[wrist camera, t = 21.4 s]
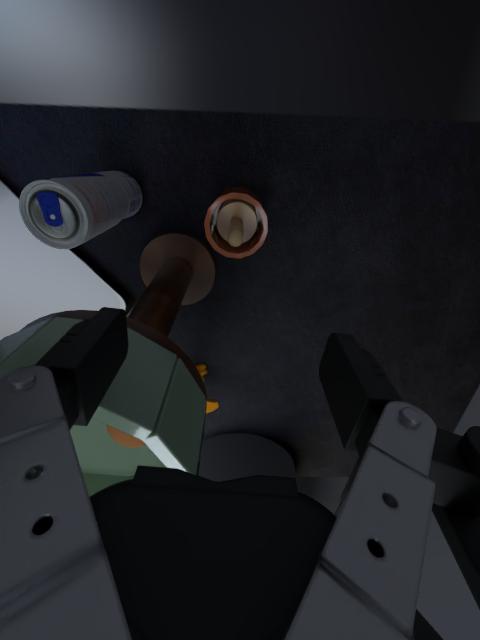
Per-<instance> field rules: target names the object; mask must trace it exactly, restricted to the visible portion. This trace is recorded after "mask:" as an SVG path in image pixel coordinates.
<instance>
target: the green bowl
mask: <svg viewBox="0 0 480 640" xmlns="http://www.w3.org/2000/svg"><path fill="white" fill-rule="evenodd" d="M81 321H83V320H82V319H73V318H63V317H55V318H49V319H47V320H44V321H42V322H40V323H37V324H35V325H33V326H30V327H28V328H25V329H23V330H21V331H18V332H16V333H14V334H12V335H9V336H7V337H4V338H3V339H2V340H1V341H0V376H1V375H3V374H5V373H7V372H9V371H11V370H14V369H16V368H20V367H24V366H34V365H35V364H36V363H37V362H38V361H39V360H40V359H41V358H42V357H43V356H44V355H45V354H46V353H47V352H48V351H49V350H50V349H51V348H52V347H53V346H54V345H55V344H56V343H57V342H59V340H60V339H61V338H62V337H63V335H66V332H67V331H68V330H69V329H70V328H71V327H72V326H73V325H75V324H77V323H79V322H81ZM127 332H128V353H127V356H126V359H125V361H124V362H123V364H122V366H121V368H120V369H119V371H118V373H117V375H116V376H115V378H114V380H113V382H112V383H111V385H110V387H109V389H108V390H107V392H106V394H105V396H104V397H103V399H102V401H101V403H100V404H99V406H98V408H97V410H96V411H95V413H94V415H93V417H92V418H91V420H90V422H89V424H88V425H87V426H78V425H73V426H72V428H71V430H70V433H71V436H72V440H73V443H74V447H75V450H76V453H77V457H78V460H79V464H80V467H81V471H82V474H83V477H84V481H85V484H86V488H87V491H88V494H89V497H90V496H92V495H93V494H95V493H96V492H98V491H100V490H102V489H104V488H106V487H108V486H110V485H113V484H115V483H118V482H121V481H125V480H129V479H133V478H134V475H135V472H136V469H137V466H138V465H140V466H152V467H164V468H177V469H180V470H183V471H186V472H189V473H191V474H194V475H197V476H198V473H199V465H200V458H201V451H202V444H203V436H204V426H205V415H206V404H207V400H206V397H205V395H204V394H203V392H202V391H201V389H200V388H199V386H198V384H197V383H196V381H195V380H194V378H193V377H192V375H191V374H190V372H189V371H188V369H187V368H186V366H185V365H184V363H183V362H182V360H181V359H180V358H178V359H177V355H176V354H174V353H172V352H171V351H169V350H167V349H165V348H164V347H162V346H160V345H158V344H157V343H155V342H153V341H152V340H150V339H148V338H146V337H144V336H142V335H141V334H139V333H137V332H135V331H134V330H132V329H130V328H128V327H127ZM106 424H107V425H109V426H111V427H113V428H116V429H118V430H120V431H122V432H124V433H127V434H129V435H131V436H133V437H136V438H138V439H140V440H142V441H143V442H144V443H145V444H146V445H145V446H142V447H137V448H130V447H125V446H122V445H120V444H118V443H117V442H116V441H115V440H114V439H112V437H111V436H110V434H109V432H108V430H107V427H106Z"/></svg>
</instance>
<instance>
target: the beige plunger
mask: <svg viewBox="0 0 480 640" xmlns="http://www.w3.org/2000/svg"><path fill="white" fill-rule="evenodd" d="M216 224H217V229H218V232H219V234H220V235H221V237H222V238H223V239H224V240H226V241H228V242H229V244H230V245H231V246H234V247H238V246H240V245H241V244H242V243H244V242H246V241H248V240H249V239H250V238H251V237H252V236H253V235H254V233H255V231H256V228H257V214H256V210H255V207H254V205H253V204H251V203H250V202H248V201H247V200H245V199H237V198H232V199H229V200H226V201H224V202H223V203H222V204H221V206H220V209H219V211H218V216H217V221H216Z"/></svg>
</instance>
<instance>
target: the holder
mask: <svg viewBox="0 0 480 640" xmlns="http://www.w3.org/2000/svg"><path fill="white" fill-rule="evenodd" d="M232 198H237V199H245V200H247V201H248V202H250V203H251V204H253V205H254V207H255V210H256V214H257V228H256V231H255V233H254V235H253V236H252V237H251V238H250V239H249V240H248V241H246V242H244V243H242V244H241V245H240V246H238V247H234V246H231V245H230V244H229V242H228V241H226V240H224V239H223V238H222V237H221V235H220V234H219V232H218V229H217V224H216V221H217V216H218V211H219V209H220V206H221V204H222V203H223V202H224V201H226V200H229V199H232ZM204 226H205V233H206V237H207V239H208V241H209V243H210V244H211V246H212V247H213V249H214V250H216V251H217V252H219V253H221V254H222V255H224V256H225V257H231V258H243V257H246V256H249V255H252V254H253V253H254V252H256V251H257V250H258V249H259V248H260V247H261V246H262V245H263V243H264V240H265V238H266V235H267V233H268V218H267V214H266V212H265V209H264V207H263V205H262V203H261V201H260V199H259V197H258V196H257V194H255V193H254V192H253V191H252V190H250V189H248V188H247V187H243V186H232V187H228V188H226V189H224V190H222V191H221V192H220V193H219V194H218V196H217V197H216V198H215V199H214V200H213V202H212V204H211V205H210V207H209V208H208V211H207V214H206V218H205V221H204Z"/></svg>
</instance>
